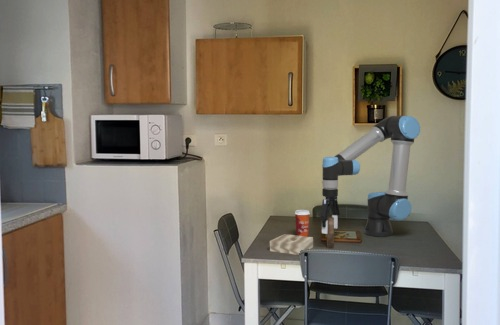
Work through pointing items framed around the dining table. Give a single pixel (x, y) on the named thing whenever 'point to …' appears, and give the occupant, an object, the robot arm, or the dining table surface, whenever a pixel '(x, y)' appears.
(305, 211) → the coffee cup
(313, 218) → the dining table surface
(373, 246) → the dining table surface
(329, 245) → the walnut peg
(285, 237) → the maple block
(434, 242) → the dining table surface
